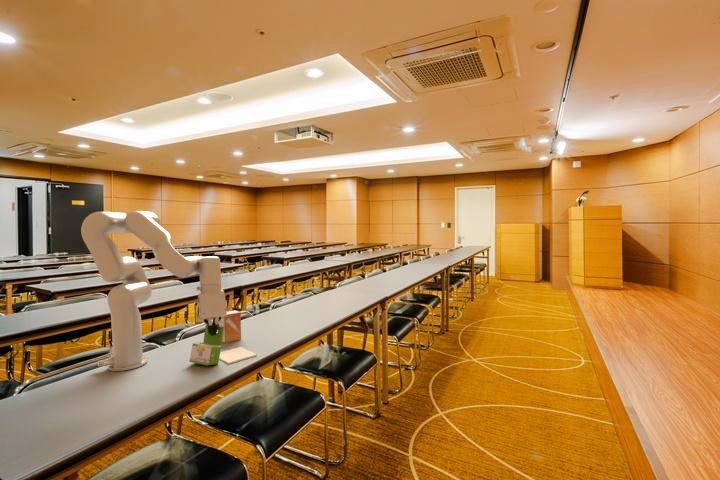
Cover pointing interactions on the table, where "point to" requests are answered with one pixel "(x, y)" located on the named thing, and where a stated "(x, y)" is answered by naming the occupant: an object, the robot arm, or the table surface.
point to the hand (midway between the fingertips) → (212, 334)
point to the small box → (231, 326)
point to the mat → (236, 355)
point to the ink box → (207, 348)
